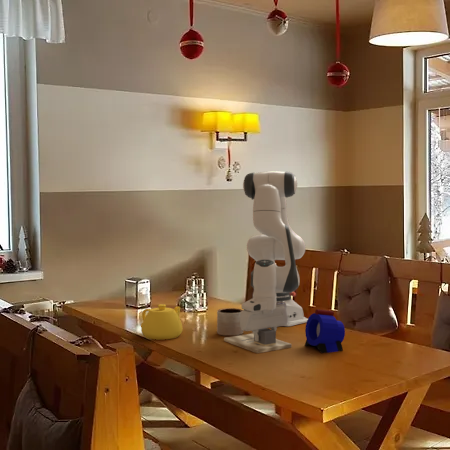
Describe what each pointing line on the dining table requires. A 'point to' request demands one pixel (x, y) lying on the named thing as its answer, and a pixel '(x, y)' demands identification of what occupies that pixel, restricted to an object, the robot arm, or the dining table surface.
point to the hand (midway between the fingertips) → (264, 339)
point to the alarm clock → (324, 331)
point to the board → (249, 344)
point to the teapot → (161, 323)
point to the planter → (229, 322)
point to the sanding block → (266, 337)
